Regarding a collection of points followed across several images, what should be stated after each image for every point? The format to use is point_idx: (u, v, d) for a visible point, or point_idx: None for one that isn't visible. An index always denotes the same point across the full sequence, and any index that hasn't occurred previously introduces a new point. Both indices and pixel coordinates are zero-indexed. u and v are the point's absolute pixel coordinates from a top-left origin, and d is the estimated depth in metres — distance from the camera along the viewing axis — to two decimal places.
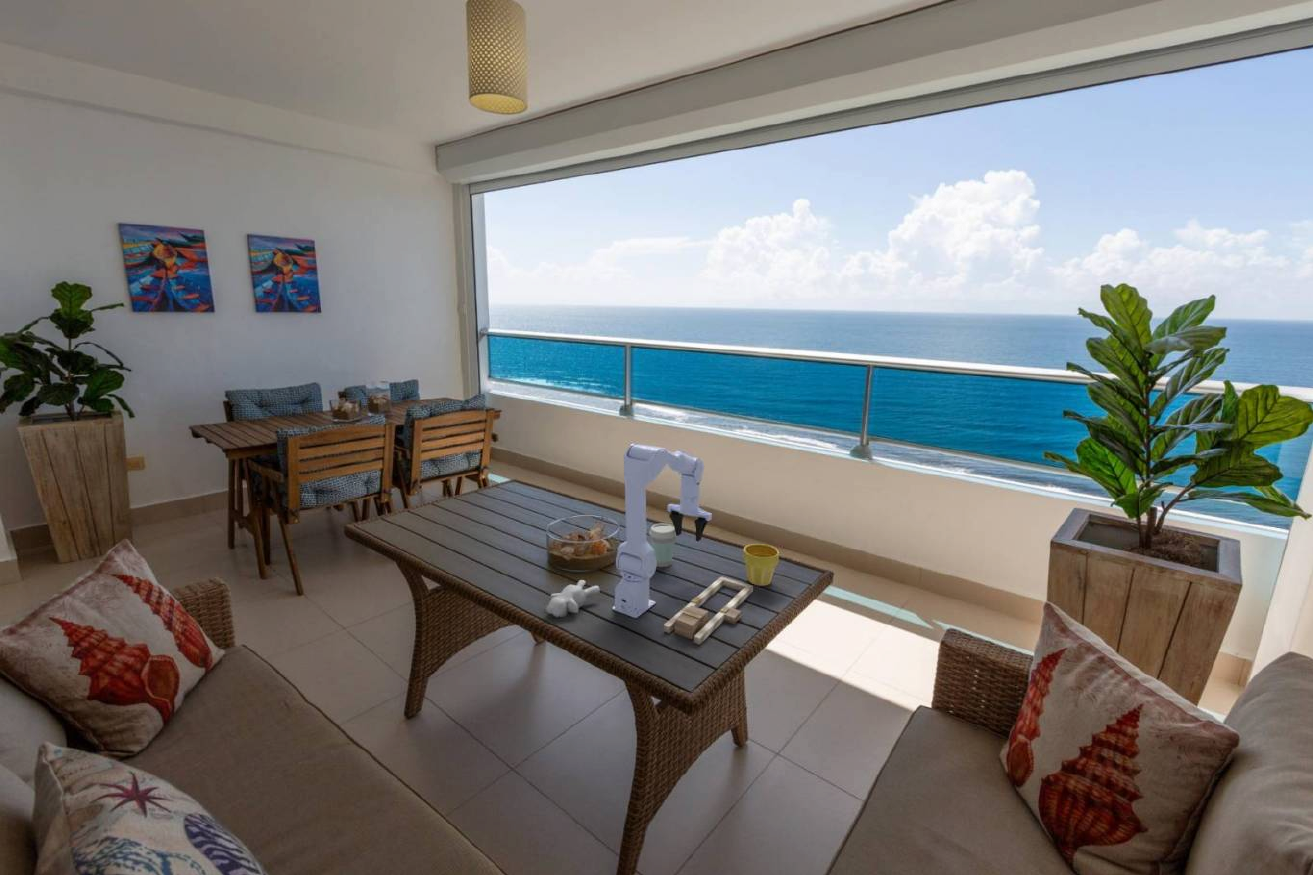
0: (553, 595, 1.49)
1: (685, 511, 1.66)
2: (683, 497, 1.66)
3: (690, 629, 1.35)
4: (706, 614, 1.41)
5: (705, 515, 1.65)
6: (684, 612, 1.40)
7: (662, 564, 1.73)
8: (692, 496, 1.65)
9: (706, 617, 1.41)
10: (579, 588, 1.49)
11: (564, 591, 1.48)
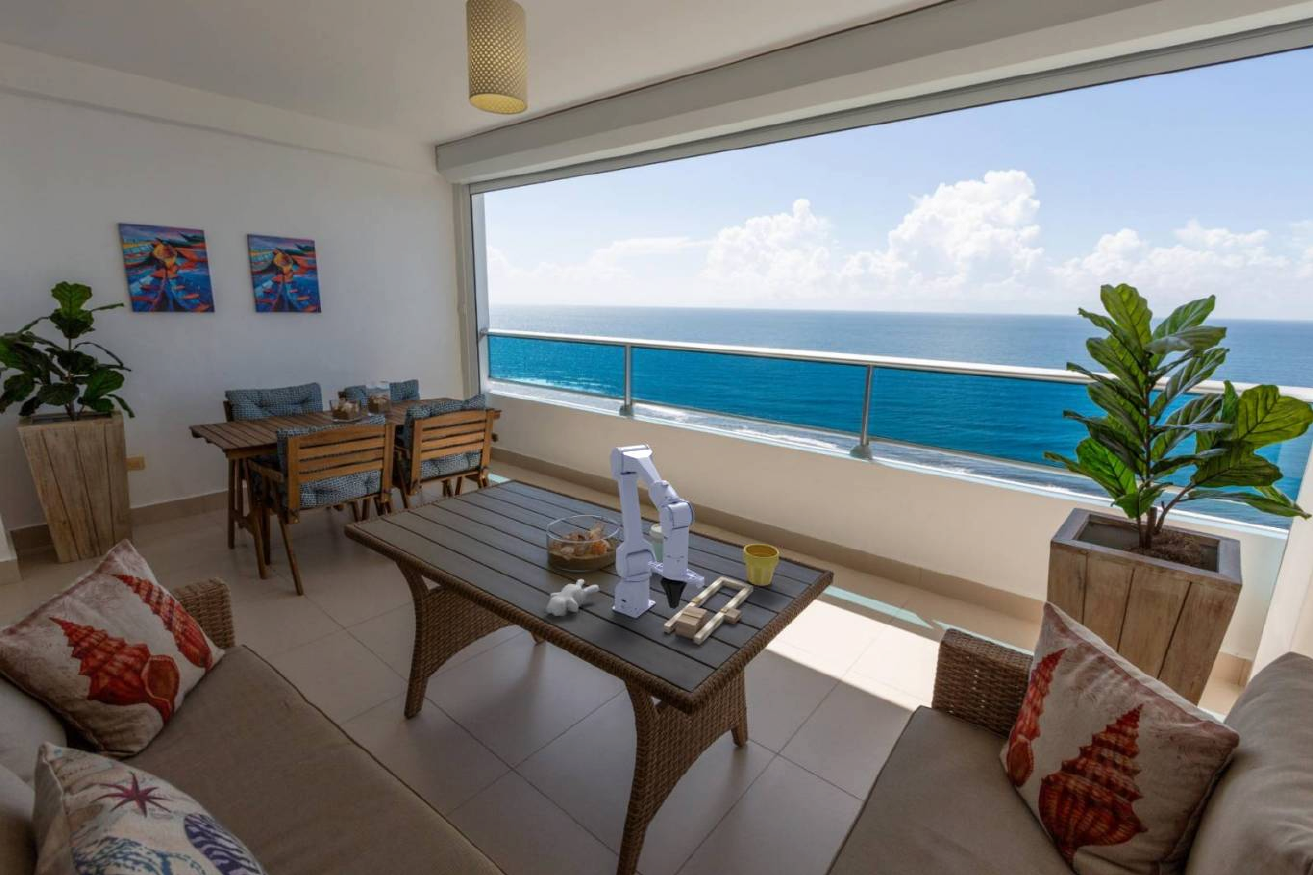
0: (553, 594, 1.49)
1: (669, 574, 1.26)
2: (666, 556, 1.25)
3: (692, 629, 1.35)
4: (705, 613, 1.41)
5: (695, 580, 1.24)
6: (684, 612, 1.40)
7: None
8: None
9: (705, 616, 1.41)
10: (578, 587, 1.50)
11: (564, 590, 1.49)
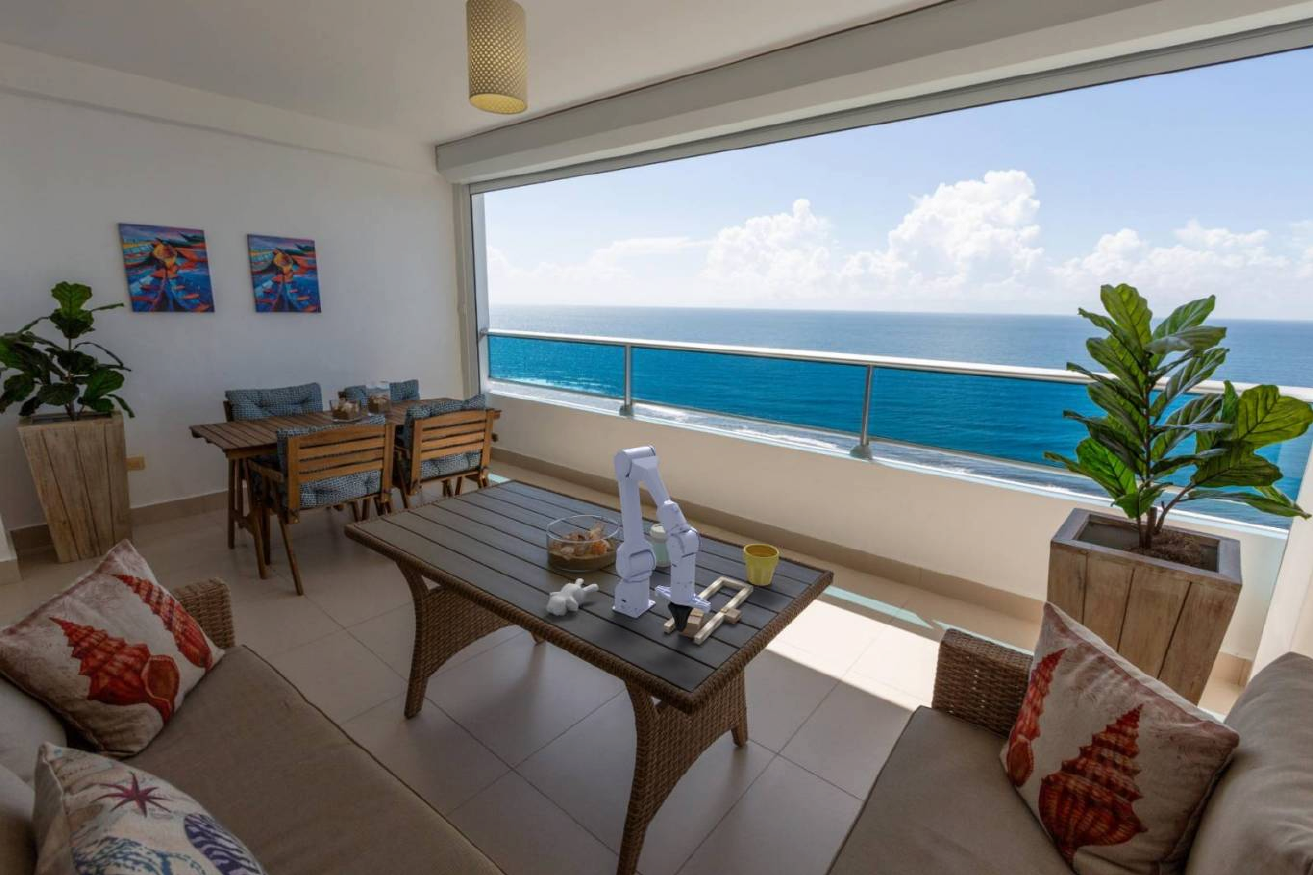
0: (552, 594, 1.49)
1: (676, 599, 1.31)
2: (674, 582, 1.30)
3: (695, 628, 1.35)
4: None
5: (702, 606, 1.29)
6: None
7: (662, 564, 1.73)
8: None
9: (705, 614, 1.42)
10: (578, 586, 1.50)
11: (563, 589, 1.49)
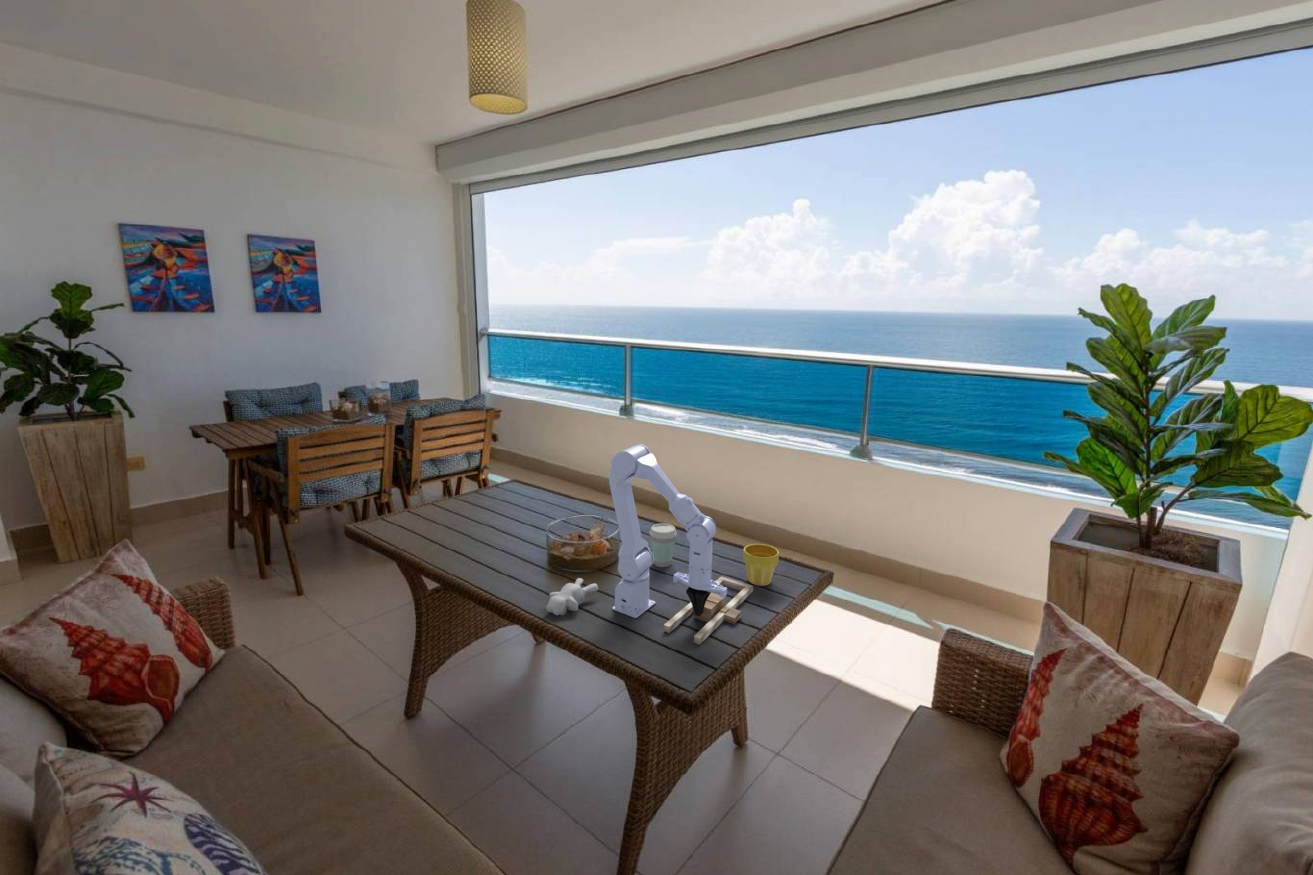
0: (552, 594, 1.49)
1: (695, 585, 1.38)
2: (692, 568, 1.37)
3: (709, 613, 1.42)
4: (723, 599, 1.48)
5: (719, 590, 1.36)
6: None
7: (662, 564, 1.73)
8: (690, 564, 1.38)
9: (723, 602, 1.48)
10: (578, 586, 1.50)
11: (563, 589, 1.49)
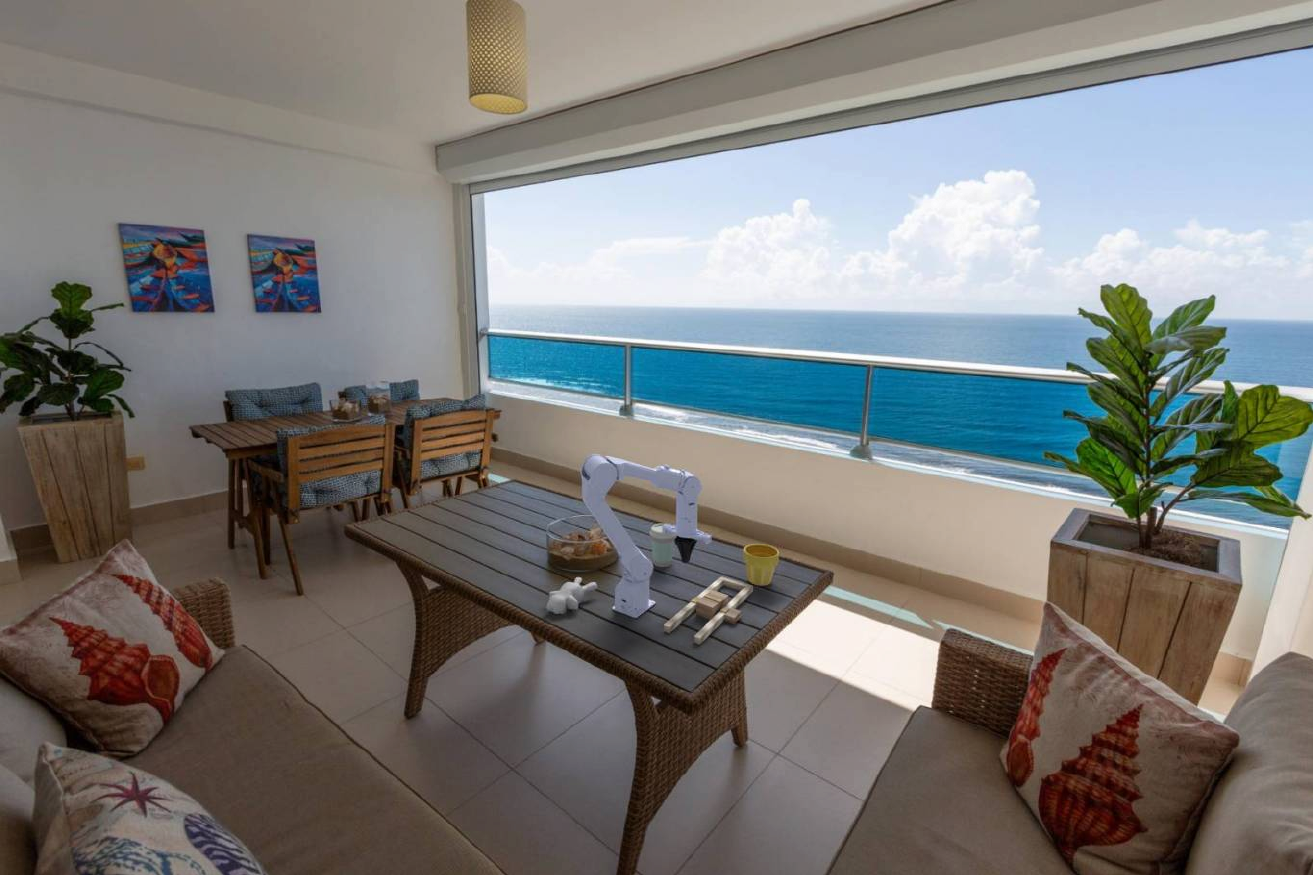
0: (552, 593, 1.50)
1: (682, 533, 1.49)
2: (679, 518, 1.49)
3: (711, 611, 1.43)
4: (726, 598, 1.49)
5: (704, 538, 1.48)
6: (705, 595, 1.48)
7: (662, 564, 1.73)
8: (683, 516, 1.48)
9: (726, 601, 1.49)
10: (577, 585, 1.51)
11: (563, 588, 1.50)
